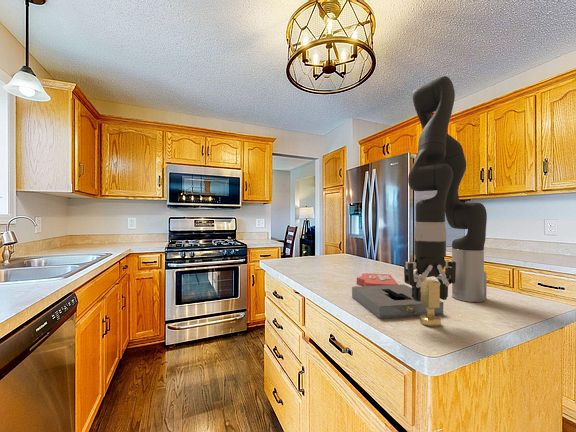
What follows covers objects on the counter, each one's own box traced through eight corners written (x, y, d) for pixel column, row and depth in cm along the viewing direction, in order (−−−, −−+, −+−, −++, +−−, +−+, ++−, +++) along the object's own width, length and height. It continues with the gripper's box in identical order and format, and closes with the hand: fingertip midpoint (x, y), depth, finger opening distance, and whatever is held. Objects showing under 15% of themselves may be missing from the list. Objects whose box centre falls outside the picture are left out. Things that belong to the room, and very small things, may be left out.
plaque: (355, 271, 121) (389, 272, 118) (355, 279, 121) (389, 281, 118) (358, 281, 103) (398, 283, 101) (358, 291, 103) (398, 293, 101)
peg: (432, 319, 75) (432, 278, 75) (445, 326, 70) (445, 283, 70) (415, 320, 74) (415, 279, 74) (427, 328, 69) (427, 283, 69)
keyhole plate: (403, 294, 98) (403, 284, 98) (443, 314, 78) (443, 302, 78) (352, 297, 95) (352, 286, 95) (379, 319, 75) (379, 306, 75)
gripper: (443, 237, 77) (443, 294, 77) (397, 237, 74) (397, 296, 75) (464, 239, 69) (464, 303, 69) (414, 240, 67) (413, 306, 67)
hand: (429, 299), depth 72 cm, fingers open, 7 cm apart
